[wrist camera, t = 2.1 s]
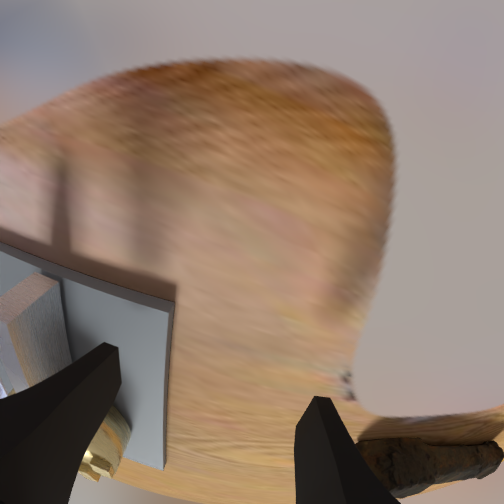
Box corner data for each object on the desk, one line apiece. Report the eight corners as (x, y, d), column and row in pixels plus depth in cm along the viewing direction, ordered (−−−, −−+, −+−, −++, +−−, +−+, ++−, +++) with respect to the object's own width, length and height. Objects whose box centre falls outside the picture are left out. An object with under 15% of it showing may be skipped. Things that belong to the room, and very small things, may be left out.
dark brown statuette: (496, 434, 16) (511, 465, 12) (468, 457, 17) (479, 489, 13) (383, 413, 14) (400, 475, 10) (341, 445, 15) (349, 503, 11)
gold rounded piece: (135, 457, 16) (119, 499, 12) (46, 415, 15) (24, 448, 12) (119, 303, 10) (65, 368, 7) (-3, 254, 10) (-55, 288, 7)
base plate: (12, 389, 17) (7, 394, 16) (-35, 225, 11) (-44, 230, 11) (165, 463, 17) (163, 471, 17) (174, 302, 12) (167, 314, 11)
